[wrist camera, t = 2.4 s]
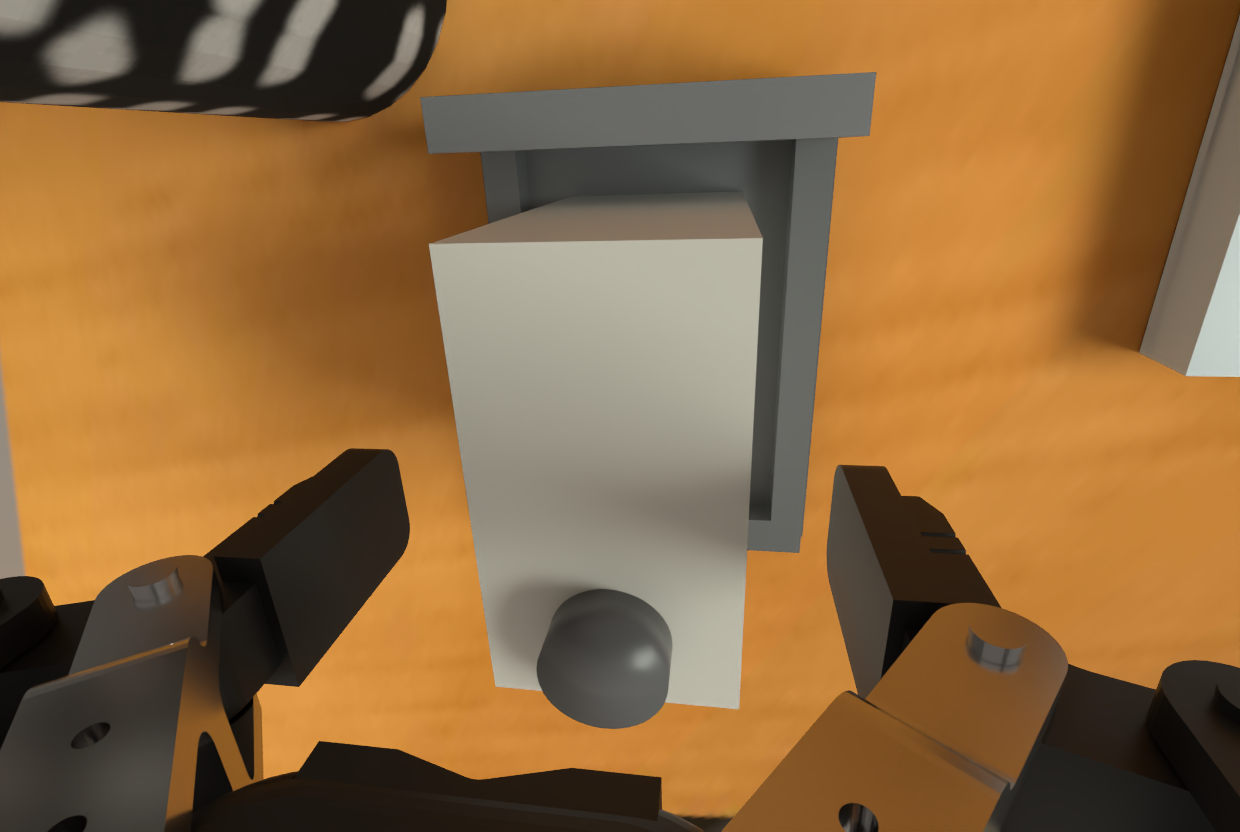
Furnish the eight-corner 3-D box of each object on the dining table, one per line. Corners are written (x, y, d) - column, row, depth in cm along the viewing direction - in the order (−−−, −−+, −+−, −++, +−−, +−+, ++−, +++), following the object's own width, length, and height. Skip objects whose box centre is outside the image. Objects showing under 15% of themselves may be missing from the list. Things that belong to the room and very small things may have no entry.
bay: (492, 108, 19) (420, 97, 14) (836, 91, 18) (876, 72, 13) (534, 508, 24) (491, 591, 20) (799, 521, 23) (817, 613, 18)
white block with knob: (571, 196, 19) (397, 254, 9) (742, 191, 18) (767, 248, 8) (588, 464, 22) (478, 726, 12) (731, 470, 21) (740, 753, 11)
